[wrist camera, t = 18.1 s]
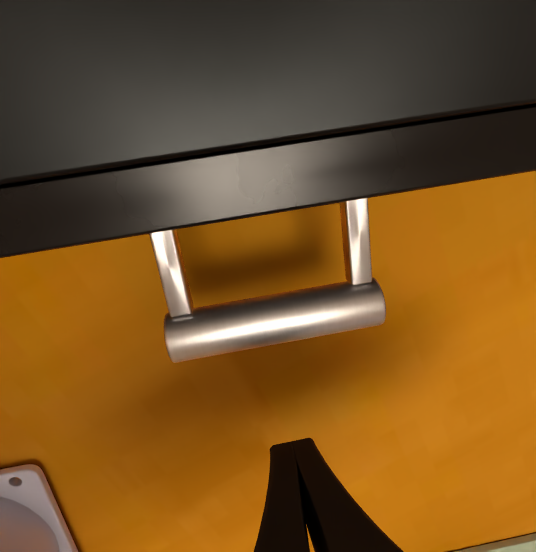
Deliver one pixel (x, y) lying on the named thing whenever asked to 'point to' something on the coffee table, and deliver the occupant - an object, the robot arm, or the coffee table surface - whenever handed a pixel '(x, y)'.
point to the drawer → (261, 201)
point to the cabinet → (242, 73)
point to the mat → (507, 545)
